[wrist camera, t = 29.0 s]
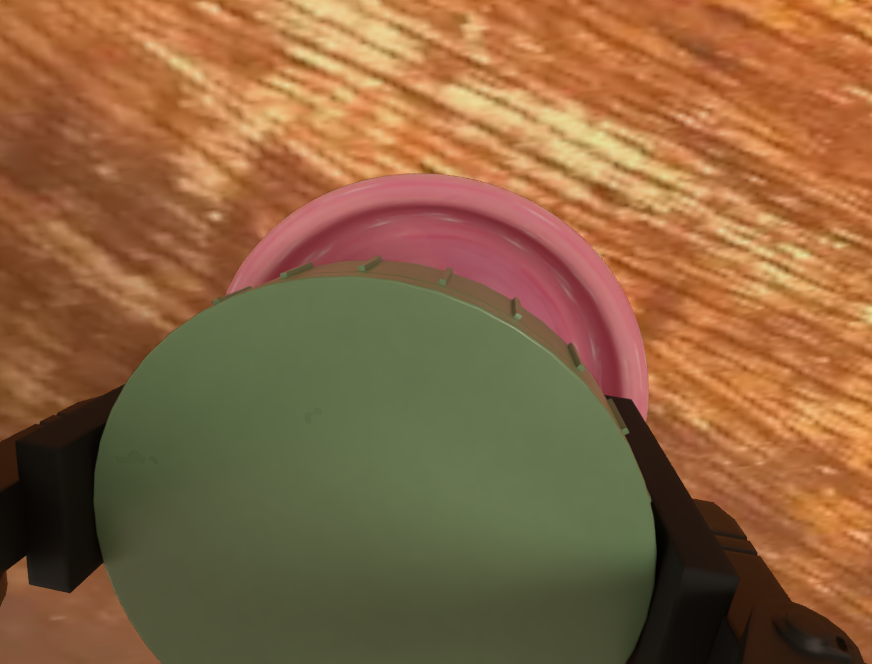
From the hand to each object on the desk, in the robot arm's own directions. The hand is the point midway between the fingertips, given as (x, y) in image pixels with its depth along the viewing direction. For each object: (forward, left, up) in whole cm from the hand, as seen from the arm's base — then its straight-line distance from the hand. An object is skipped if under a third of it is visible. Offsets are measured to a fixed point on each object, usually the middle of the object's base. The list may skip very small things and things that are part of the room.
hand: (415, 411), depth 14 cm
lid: (0, 0, +6) cm, 6 cm away
